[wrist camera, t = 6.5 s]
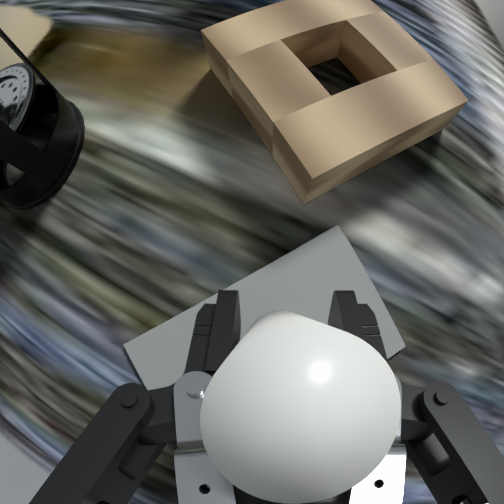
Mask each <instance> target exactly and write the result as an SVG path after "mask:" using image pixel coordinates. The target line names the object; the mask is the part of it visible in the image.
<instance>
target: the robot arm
mask: <svg viewBox="0 0 504 504" xmlns="http://www.w3.org/2000/svg"><path fill="white" fill-rule="evenodd" d="M328 325H329V326H332V327H334V328H337V329H340V330H343V331H346V332H348V333H350V334H352V335H355V336H357V337H359V338H360V339H362V340H363V341H365V342H366V343H368V344H370V345H371V346H372V347H373V348H374V349H375V350H376V351H377V352H379V353H380V355H381V356H382V357H383V358H384V359H385V361H386V362H387V363H388V360H387V356H386V352H385V348H384V344H383V341H382V337H381V336H380V330H379V327H378V323H377V319H376V316H375V313H374V312H373V311H372V309H371V308H370V307H369V306H368V305H367V303H366V304H358V303H357V299H356V295H355V292H354V291H353V290H335V291H334V292H333V296H332V302H331V307H330V312H329V317H328ZM240 334H241V314H240V301H239V291H238V290H219V291H218V295H217V301H216V304H208V303H205V304H204V305H203V306H202V308H201V309H200V310H199V311H198V313H197V316H196V320H195V327H194V329H193V336H192V339H191V343H190V348H189V353H188V358H187V362H186V367H185V371H184V373H183V375H182V376H181V377H180V378H179V379H178V380H177V381H176V382H175V383H174V384H172V385H170V386H167V387H163V388H158V389H152V390H146V389H145V388H144V387H143V386H142V385H139V384H136V383H127V384H124V385H121V386H120V387H118V388H117V389H116V390H115V391H114V392H113V393H112V395H111V396H110V397H109V398H108V400H107V401H106V402H105V404H104V405H103V406H102V407H101V409H100V410H99V411H98V413H97V414H96V415H95V416H94V418H93V419H92V420H91V422H90V423H89V424H88V426H87V427H86V428H85V429H84V431H83V432H82V433H81V435H80V436H79V437H78V439H77V440H76V441H75V443H74V444H73V445H72V447H71V448H70V449H69V451H68V452H67V453H66V454H65V456H64V457H63V458H62V460H61V461H60V462H59V464H58V465H57V466H56V468H55V469H54V470H53V472H52V473H51V474H50V476H49V477H48V479H47V480H46V481H45V483H44V484H43V485H42V487H41V488H40V489H39V491H38V492H37V493H36V495H35V496H34V497H33V499H32V500H31V502H30V503H29V504H127V503H128V501H129V500H130V498H131V497H132V495H133V494H134V492H135V491H136V489H137V488H138V486H139V485H140V483H141V482H142V480H143V479H144V477H145V476H146V474H147V473H148V471H149V470H150V468H151V467H152V465H153V464H154V462H155V461H156V459H157V458H158V456H159V455H160V453H161V452H162V450H163V448H164V447H165V445H166V444H167V442H172V441H177V447H176V448H175V450H174V463H175V474H176V484H177V493H178V501H179V504H285V503H277V502H271V501H267V500H263V499H260V498H258V497H255V496H252V495H250V494H248V493H246V492H244V491H242V490H240V489H238V488H237V487H236V486H235V485H233V484H232V483H230V482H229V481H228V480H227V479H226V478H225V477H224V476H223V475H222V474H221V473H220V472H219V471H218V469H217V468H216V467H215V466H214V464H213V463H212V461H211V459H210V458H209V456H208V454H207V451H206V449H205V447H204V443H203V440H202V436H201V428H200V411H201V406H202V401H203V397H204V395H205V392H206V389H207V387H208V385H209V383H210V381H211V379H212V377H213V375H214V374H215V373H216V371H217V370H218V369H219V367H220V366H221V364H222V363H223V362H224V361H225V359H226V358H227V357H228V356H229V354H230V353H231V352H232V350H233V349H234V348H235V347H236V345H237V344H238V343H239V341H240ZM388 365H389V363H388ZM394 376H395V375H394ZM395 379H396V381H397V384H398V388H399V392H400V400H401V415H400V422H399V427H398V431H397V434H396V436H395V439H394V441H393V444H392V446H391V448H390V450H389V451H388V453H387V454H386V456H385V457H384V459H383V460H382V462H381V463H380V464H379V465H378V466H377V468H376V469H375V470H374V471H373V472H372V473H371V474H369V475H368V476H367V477H366V478H365V479H364V480H362V481H361V482H360V483H358V484H357V485H355V486H354V487H352V488H350V489H349V490H347V491H345V492H343V493H341V494H338V495H336V496H334V497H331V498H328V499H324V500H321V501H316V502H311V503H301V504H402V495H403V486H404V476H405V464H406V452H407V454H408V455H409V457H410V458H411V460H412V462H413V463H414V465H415V467H416V468H417V470H418V471H419V473H420V475H421V476H422V478H423V480H424V481H425V483H426V485H427V486H428V488H429V490H430V491H431V493H432V495H433V496H434V498H435V500H436V501H437V503H438V504H504V457H503V456H502V454H501V453H500V451H499V450H498V448H497V447H496V445H495V444H494V442H493V441H492V439H491V438H490V436H489V435H488V433H487V432H486V431H485V429H484V428H483V426H482V425H481V423H480V422H479V421H478V419H477V418H476V416H475V415H474V414H473V412H472V411H471V409H470V408H469V407H468V405H467V404H466V403H465V401H464V400H463V399H462V397H461V396H460V394H459V393H458V392H457V390H456V389H455V388H454V387H453V386H452V385H451V384H449V383H447V382H444V381H435V382H432V383H431V384H429V385H428V386H427V387H426V388H423V387H417V386H412V385H408V384H405V383H402V382H401V381H399V379H398V378H397V376H395ZM376 487H377V488H378V489H377V488H376Z"/></svg>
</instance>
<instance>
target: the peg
mask: <svg viewBox="0 0 504 504" xmlns="http://www.w3.org/2000/svg"><path fill="white" fill-rule="evenodd" d="M400 415H401V400H400V392H399V388H398V384H397V381H396V379H395V376H394V374H393V372H392V370H391V368H390V367H389V365H388V363H387V362H386V361H385V359H384V358H383V357H382V356H381V355H380V353H379V352H377V351H376V350H375V349H374V348H373V347H372V346H371V345H370V344H368V343H366V342H365V341H363V340H362V339H360V338H359V337H357V336H355V335H352V334H350V333H348V332H346V331H343V330H340V329H337V328H334V327H332V326H329V325H326V324H323V323H321V322H318V321H315V320H312V319H310V318H307V317H304V316H302V315H299V314H296V313H294V312H291V311H286V310H275V311H271V312H268V313H266V314H264V315H262V316H261V317H259V318H258V319H257V320H256V321H255V322H254V323H253V325H252V326H251V327H250V328H249V330H248V331H247V332H246V334H245V335H244V336H243V338H242V339H241V340H240V341H239V343H238V344H237V345H236V347H235V348H234V349H233V350H232V352H231V353H230V354H229V356H228V357H227V358H226V359H225V361H224V362H223V363H222V364H221V366H220V367H219V369H218V370H217V371H216V373H215V374H214V375H213V377H212V379H211V381H210V383H209V385H208V387H207V389H206V392H205V395H204V397H203V401H202V406H201V411H200V428H201V436H202V440H203V443H204V447H205V449H206V451H207V454H208V456H209V458H210V459H211V461H212V463H213V464H214V466H215V467H216V468H217V469H218V471H219V472H220V473H221V474H222V475H223V476H224V477H225V478H226V479H227V480H228V481H229V482H230V483H232V484H233V485H235V486H236V487H237V488H239V489H240V490H242V491H244V492H246V493H248V494H250V495H252V496H255V497H258V498H260V499H263V500H267V501H271V502H277V503H285V504H301V503H311V502H316V501H321V500H324V499H328V498H331V497H334V496H336V495H338V494H341V493H343V492H345V491H347V490H349V489H350V488H352V487H354V486H355V485H357V484H358V483H360V482H361V481H362V480H364V479H365V478H366V477H367V476H368V475H369V474H371V473H372V472H373V471H374V470H375V469H376V468H377V466H378V465H379V464H380V463H381V462H382V460H383V459H384V457H385V456H386V454H387V453H388V451H389V450H390V448H391V446H392V444H393V441H394V439H395V436H396V434H397V431H398V427H399V422H400Z"/></svg>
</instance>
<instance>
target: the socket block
mask: <svg viewBox="0 0 504 504" xmlns="http://www.w3.org/2000/svg"><path fill="white" fill-rule="evenodd" d="M201 33H202V37H203V41H204V45H205V49H206V53H207V57H208V60H209V64H210V68H211V70H212V71H213V72H214V74H215V75H216V76H217V78H218V79H219V80H220V82H221V83H222V85H223V86H224V87H225V89H226V90H227V91H228V93H229V94H230V96H231V97H232V98H233V100H234V101H235V103H236V104H237V105H238V107H239V108H240V110H241V111H242V112H243V114H244V115H245V117H246V118H247V119H248V121H249V122H250V124H251V125H252V127H253V128H254V130H255V131H256V132H257V134H258V135H259V137H260V138H261V140H262V141H263V143H264V144H265V146H266V147H267V149H268V150H269V152H270V153H271V155H272V156H273V158H274V159H275V161H276V162H277V164H278V165H279V167H280V168H281V170H282V171H283V173H284V174H285V176H286V177H287V179H288V181H289V182H290V184H291V185H292V187H293V188H294V190H295V191H296V193H297V195H298V196H299V198H300V199H301V201H302V203H303V204H306V203H308V202H309V201H311V200H313V199H315V198H317V197H318V196H320V195H322V194H324V193H326V192H328V191H329V190H331V189H333V188H335V187H337V186H338V185H340V184H342V183H344V182H346V181H348V180H350V179H351V178H353V177H355V176H357V175H359V174H361V173H362V172H364V171H366V170H368V169H370V168H372V167H373V166H375V165H377V164H379V163H381V162H383V161H385V160H387V159H388V158H390V157H392V156H394V155H396V154H398V153H400V152H401V151H403V150H405V149H407V148H409V147H411V146H413V145H415V144H416V143H418V142H420V141H422V140H424V139H426V138H428V137H430V136H432V135H433V134H435V133H437V132H439V131H441V130H443V129H444V128H445V127H446V125H447V124H448V123H449V122H450V121H451V120H452V119H453V118H454V117H455V115H456V114H457V113H458V112H459V111H460V110H461V109H462V108H463V106H464V105H465V104H466V103H467V102H468V99H467V98H466V97H465V96H464V94H463V93H462V92H461V91H460V89H459V88H458V87H457V86H456V84H455V83H454V82H453V81H452V80H451V79H450V77H449V76H448V75H447V74H446V73H445V72H444V70H443V69H442V68H441V67H440V66H439V65H438V64H437V63H436V62H435V60H434V59H433V58H432V57H431V56H430V55H429V54H428V53H427V52H426V51H425V50H424V49H423V48H422V47H421V46H420V45H419V44H418V43H417V42H416V41H415V40H414V39H413V38H412V37H411V36H410V35H409V34H408V33H407V32H406V31H405V30H404V29H403V28H402V27H401V26H400V25H398V24H397V23H396V22H395V21H394V20H393V19H392V18H391V17H390V16H388V15H387V14H386V13H385V12H384V11H383V10H381V9H380V8H379V7H378V6H377V5H375V4H374V3H373V2H372V1H371V0H285V1H282V2H278V3H275V4H272V5H268V6H265V7H262V8H259V9H256V10H253V11H250V12H247V13H244V14H241V15H238V16H235V17H233V18H230V19H227V20H225V21H222V22H220V23H217V24H214V25H212V26H210V27H207V28H205V29H202V30H201ZM334 58H338V59H339V60H340V61H341V62H342V63H343V64H344V65H345V66H346V67H347V69H348V70H349V71H350V72H351V73H352V74H353V75H354V76H355V77H356V79H357V80H358V81H359V82H360V83H361V84H360V85H357V86H355V87H352V88H350V89H347V90H345V91H342V92H340V93H337V94H335V95H332V96H331V95H330V94H329V93H328V92H327V91H326V89H325V88H324V87H323V86H322V85H321V84H320V82H319V81H318V80H317V79H316V78H315V77H314V76H313V74H312V73H311V72H310V71H309V70H308V69H307V68H309V67H311V66H314V65H317V64H319V63H322V62H325V61H328V60H331V59H334Z"/></svg>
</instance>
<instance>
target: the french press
mask: <svg viewBox="0 0 504 504" xmlns="http://www.w3.org/2000/svg"><path fill="white" fill-rule="evenodd" d="M0 37H1V38H2V39H3V40H4V41H5V42H6V43H7V44H8V45H9V46H10V47H11V48H12V50H13V51H14V52H15V53H16V54H17V55H18V56H19V57H20V58H21V59H22V60H23V61H24V62H25V64H24V63H17V64H14V65H10V66H8V67H6V68H4V69H3V70H1V71H0V200H2V201H3V202H4V203H5V204H6V205H8V206H9V207H11V208H13V209H19V210H24V209H31V208H33V207H36V206H38V205H40V204H41V203H43V202H45V201H46V200H48V199H49V198H50V197H51V196H52V195H53V194H54V193H55V192H56V191H57V190H58V189H59V188H60V187H61V186H62V184H63V183H64V182H65V181H66V179H67V178H68V176H69V175H70V173H71V172H72V170H73V168H74V166H75V164H76V162H77V160H78V157H79V154H80V152H81V149H82V145H83V140H84V130H85V126H84V120H83V116H82V114H81V112H80V110H79V109H78V108H77V107H76V106H75V105H74V103H72V102H70V101H68V100H66V99H65V98H64V97H63V96H62V95H61V94H60V93H59V92H58V91H57V90H56V89H55V87H54V86H53V85H52V84H51V83H50V82H49V81H48V80H47V79H46V78H45V77H44V76H43V75H42V74H41V72H40V71H39V70H38V69H37V68H36V67H35V66H34V65H33V64H32V63H31V62H30V61H29V59H28V58H27V57H26V56H25V55H24V54H23V53H22V52H21V51H20V50H19V48H18V47H16V45H15V44H14V43H13V42H12V41H11V40H10V39H9V37H8V36H7V35H6V34H5V33H4V32H3V31H2V30H1V28H0ZM32 71H33V72H34V73H35V74H36V75H37V76H38V77H39V78H40V79H41V80H42V81H43V83H42V82H41V83H36V82H35V77H34V74H33V72H32ZM46 113H57V119H56V122H55V126H54V129H53V131H52V134H51V136H50V138H49V141H48V142H47V144H46V146H45V148H44V150H43V151H42V150H40V149H39V148H38V147H36V146H35V145H33V144H32V143H31V142H29V141H28V140H27V139H25V138H24V137H22V136H21V135H20V134H19V133H20V132H21V131H22V130H23V129H24V127H25V126H26V125H28V124H29V123H30V122H31V121H32V120H34V119H35V118H37V117H39V116H41V115H43V114H46ZM6 163H9V164H11V165H12V166H14V167H16V168H18V169H19V170H21V171H23V172H24V173H26V174H25V175H24V176H23V177H22V178H21V179H20V180H19V181H18V182H16V183H15V184H13V185H12V186H11V187H10V185H9V183H8V181H7V177H6Z"/></svg>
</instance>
